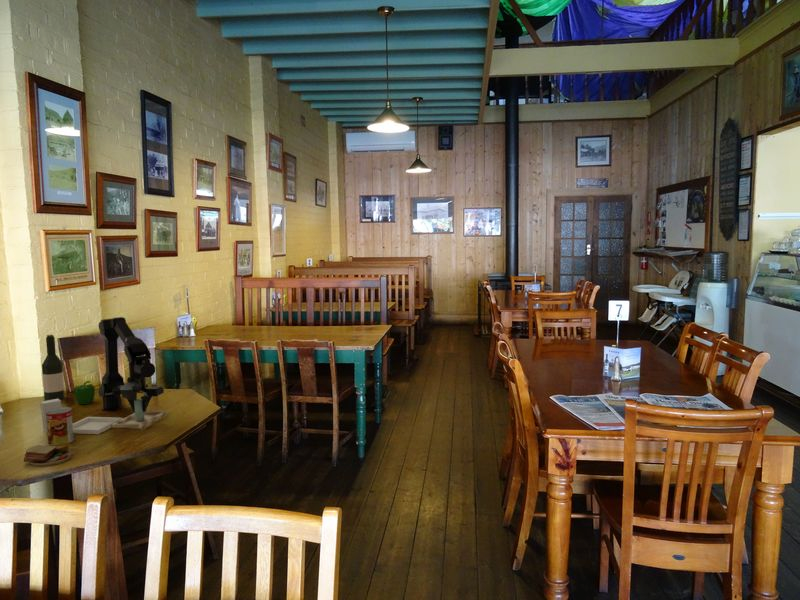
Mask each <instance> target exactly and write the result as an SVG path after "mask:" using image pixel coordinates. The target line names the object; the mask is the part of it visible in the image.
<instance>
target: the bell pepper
mask: <svg viewBox="0 0 800 600" xmlns="http://www.w3.org/2000/svg"><path fill="white" fill-rule="evenodd" d="M88 383H89V384H88ZM90 383H91V380H86V381H84V382H83V384H81V385H77V386H75V387H74V389H73V395H74V399H75V402H76V403H77V404H79V405H87V404H90V403H93V402H94V400H95V394H96V387H95V386H94V385H93V384H92V383H91V384H90Z"/></svg>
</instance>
